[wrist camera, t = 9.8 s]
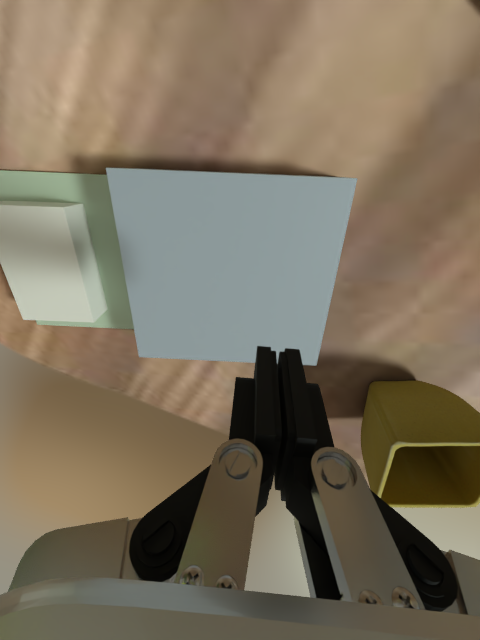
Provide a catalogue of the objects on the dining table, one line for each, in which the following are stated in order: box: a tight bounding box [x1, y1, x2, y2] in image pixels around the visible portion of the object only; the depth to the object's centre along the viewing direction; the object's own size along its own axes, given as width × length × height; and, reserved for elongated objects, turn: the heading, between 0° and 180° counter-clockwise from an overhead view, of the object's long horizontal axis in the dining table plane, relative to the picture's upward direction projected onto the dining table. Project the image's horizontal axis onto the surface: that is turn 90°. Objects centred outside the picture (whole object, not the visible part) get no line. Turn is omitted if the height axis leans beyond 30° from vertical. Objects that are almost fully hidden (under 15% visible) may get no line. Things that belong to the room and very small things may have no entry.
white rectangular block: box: [0, 201, 107, 323], centre depth 22 cm, size 9×6×2 cm, turn 178°
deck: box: [106, 168, 357, 366], centre depth 21 cm, size 14×15×4 cm
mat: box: [0, 170, 134, 329], centre depth 23 cm, size 13×11×1 cm
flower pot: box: [361, 380, 480, 508], centre depth 26 cm, size 9×9×9 cm
